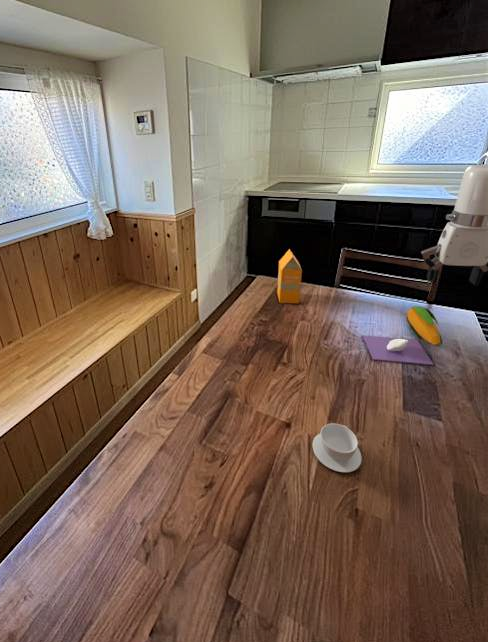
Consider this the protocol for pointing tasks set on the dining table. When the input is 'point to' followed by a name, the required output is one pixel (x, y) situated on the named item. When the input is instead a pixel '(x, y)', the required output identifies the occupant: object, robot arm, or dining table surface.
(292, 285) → the orange juice
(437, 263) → the robot arm
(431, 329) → the corn
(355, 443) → the teacup
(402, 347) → the dumpling
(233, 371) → the dining table surface
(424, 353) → the cloth
